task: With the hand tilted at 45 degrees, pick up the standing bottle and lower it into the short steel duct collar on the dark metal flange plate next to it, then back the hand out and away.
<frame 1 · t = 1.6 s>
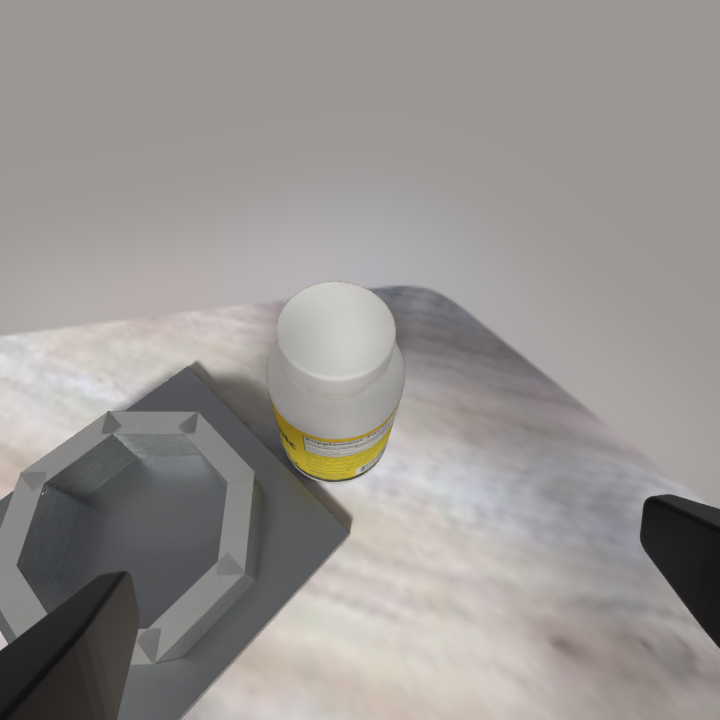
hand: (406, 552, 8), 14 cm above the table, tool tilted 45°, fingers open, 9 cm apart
duct collar: (160, 538, 20), on the table
supplement bottle: (334, 436, 23), on the table
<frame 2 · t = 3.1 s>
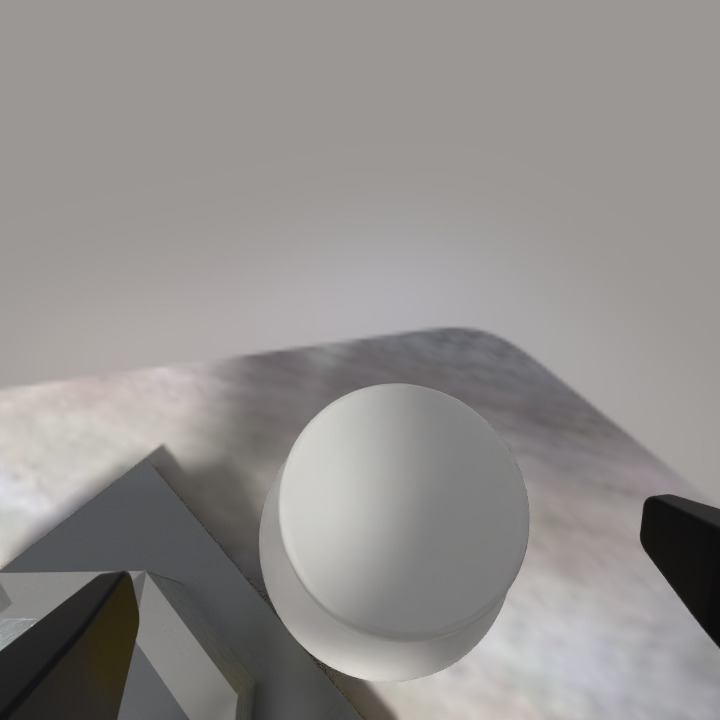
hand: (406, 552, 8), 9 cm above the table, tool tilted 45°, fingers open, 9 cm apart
supplement bottle: (363, 567, 16), on the table
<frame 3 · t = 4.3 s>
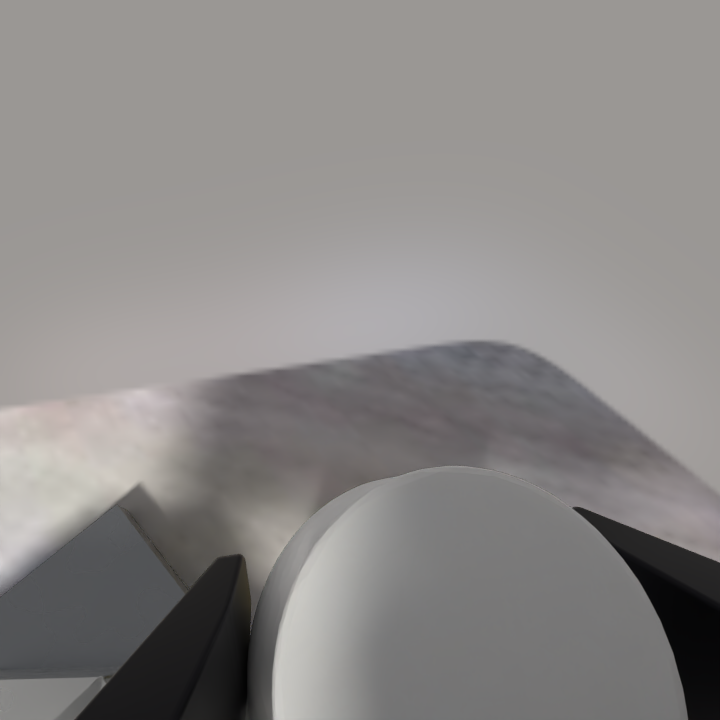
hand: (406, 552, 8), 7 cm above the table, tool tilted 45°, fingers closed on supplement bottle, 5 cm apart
supplement bottle: (380, 637, 13), on the table, touching gripper
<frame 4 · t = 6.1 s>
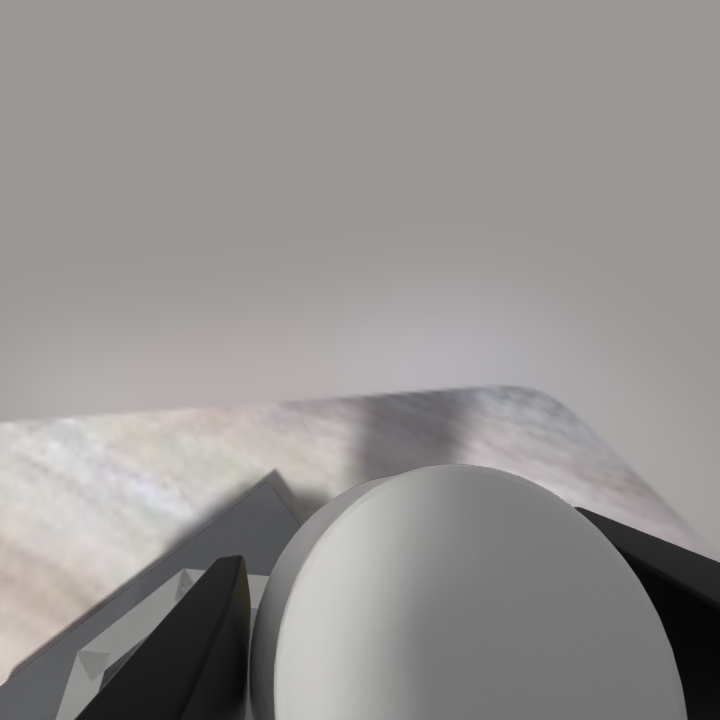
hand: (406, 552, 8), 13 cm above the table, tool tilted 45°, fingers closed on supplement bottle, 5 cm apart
duct collar: (228, 714, 17), on the table
supplement bottle: (381, 636, 13), point 6 cm above the table, touching gripper
when the fingers open (8 cm above the table, at t = 8.2 s): supplement bottle stays where it is, resting on duct collar.
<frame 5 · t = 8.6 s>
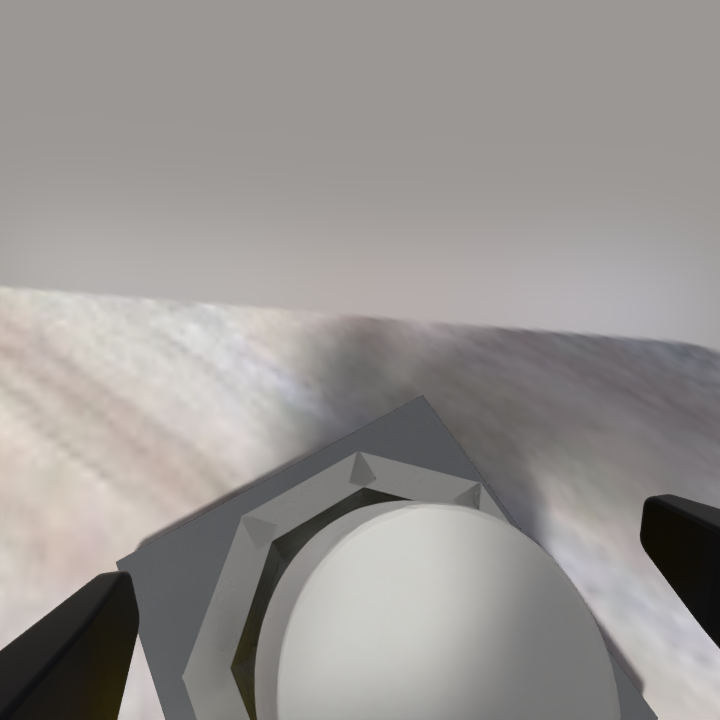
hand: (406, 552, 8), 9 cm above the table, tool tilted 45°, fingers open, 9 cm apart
duct collar: (373, 636, 14), on the table
supplement bottle: (377, 645, 14), point 1 cm above the table, touching duct collar
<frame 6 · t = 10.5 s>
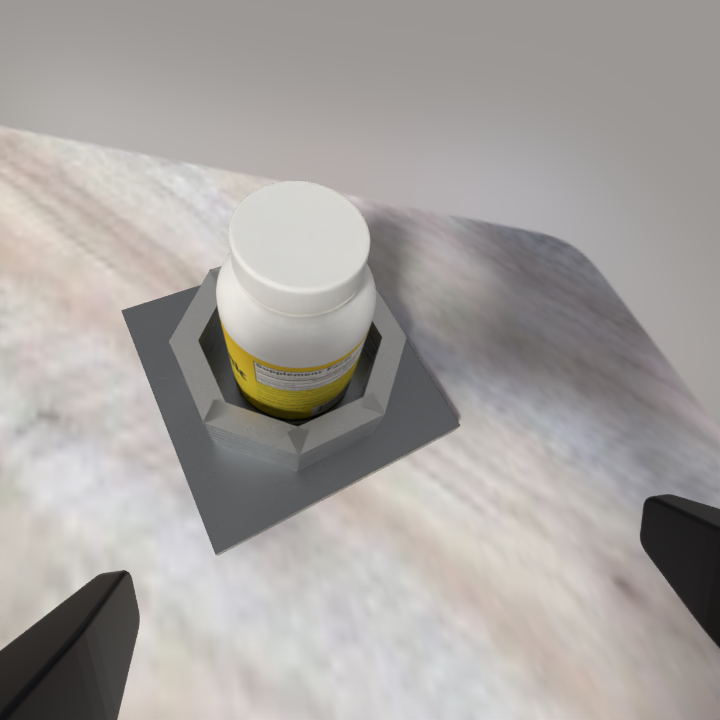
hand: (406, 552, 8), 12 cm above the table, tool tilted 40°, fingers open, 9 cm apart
duct collar: (291, 375, 22), on the table
supplement bottle: (292, 374, 21), point 1 cm above the table, touching duct collar
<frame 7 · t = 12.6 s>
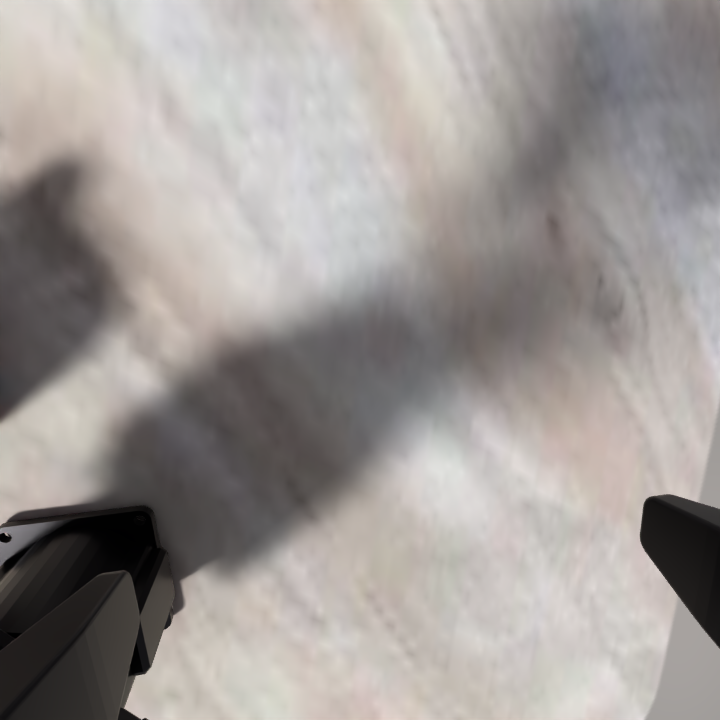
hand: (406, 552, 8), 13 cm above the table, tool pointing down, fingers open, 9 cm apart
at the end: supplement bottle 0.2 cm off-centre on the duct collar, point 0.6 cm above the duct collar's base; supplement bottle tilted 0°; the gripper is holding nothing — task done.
